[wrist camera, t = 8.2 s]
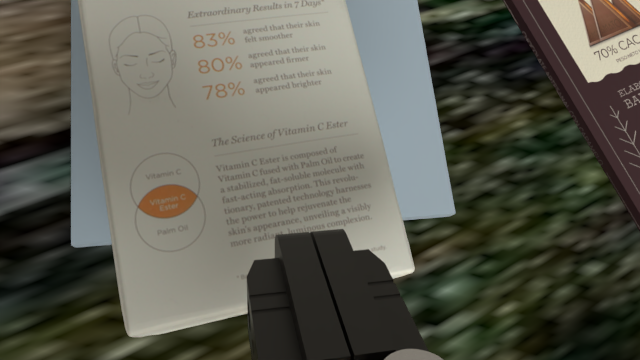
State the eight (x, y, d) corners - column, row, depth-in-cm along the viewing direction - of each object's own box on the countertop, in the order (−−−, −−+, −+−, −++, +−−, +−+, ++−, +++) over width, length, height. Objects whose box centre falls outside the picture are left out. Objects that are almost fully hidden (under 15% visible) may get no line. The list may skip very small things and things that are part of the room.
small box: (364, 288, 21) (296, -5, 24) (421, 274, 15) (321, -117, 18) (151, 336, 19) (104, 13, 22) (118, 341, 13) (59, -103, 16)
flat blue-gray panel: (75, 247, 20) (70, 245, 20) (74, -32, 23) (71, -41, 23) (449, 216, 23) (455, 213, 23) (406, -27, 26) (410, -35, 26)
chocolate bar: (671, 267, 24) (474, -63, 27) (655, 269, 25) (465, -50, 28) (801, 188, 26) (607, -106, 29) (782, 192, 27) (596, -93, 30)
